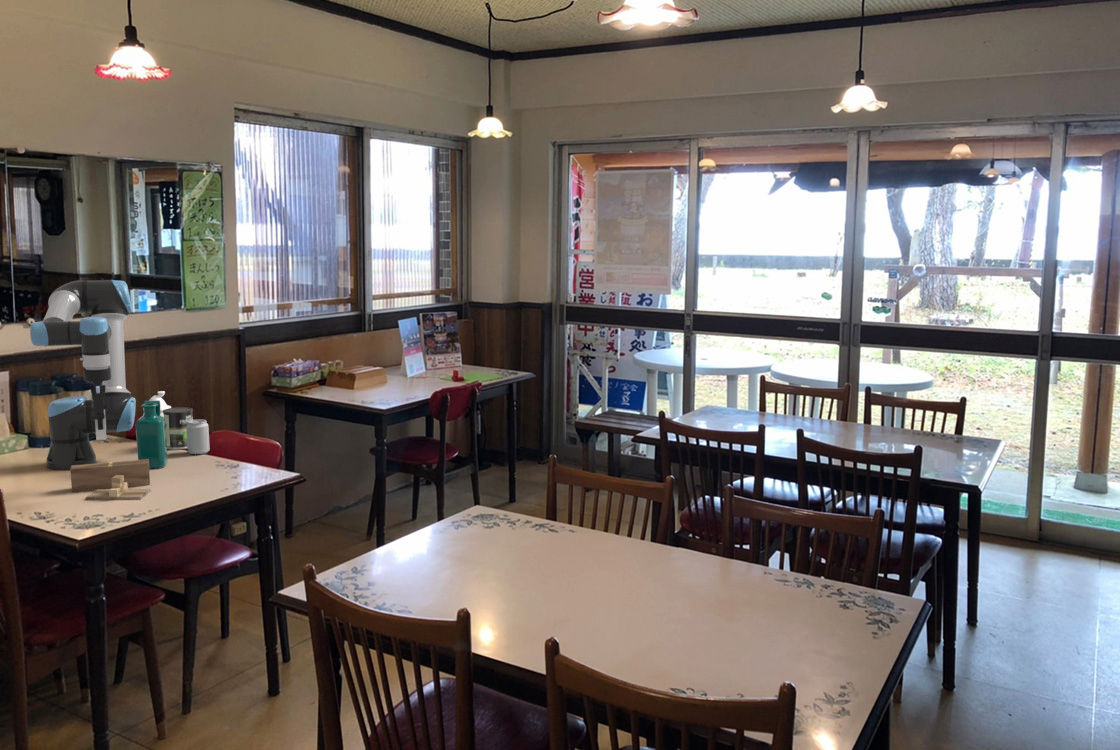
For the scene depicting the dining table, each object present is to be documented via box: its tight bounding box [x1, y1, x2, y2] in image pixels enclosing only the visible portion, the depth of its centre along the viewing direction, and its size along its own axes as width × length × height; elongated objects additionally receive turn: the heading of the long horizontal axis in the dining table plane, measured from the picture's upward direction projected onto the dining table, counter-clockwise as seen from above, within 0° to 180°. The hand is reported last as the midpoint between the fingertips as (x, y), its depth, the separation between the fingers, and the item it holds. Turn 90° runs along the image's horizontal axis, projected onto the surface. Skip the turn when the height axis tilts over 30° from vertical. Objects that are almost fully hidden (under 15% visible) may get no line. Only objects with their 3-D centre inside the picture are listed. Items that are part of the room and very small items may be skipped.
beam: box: [69, 459, 151, 493], centre depth 281 cm, size 5×22×8 cm, turn 114°
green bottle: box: [135, 400, 169, 470], centre depth 305 cm, size 10×8×22 cm
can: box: [186, 419, 211, 456], centre depth 324 cm, size 8×8×12 cm
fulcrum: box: [85, 475, 152, 501], centre depth 272 cm, size 8×16×6 cm, turn 95°
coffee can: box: [163, 406, 194, 450], centre depth 332 cm, size 10×10×14 cm
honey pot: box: [141, 390, 172, 417], centre depth 346 cm, size 13×13×18 cm
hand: (101, 434), depth 277 cm, fingers open, 13 cm apart
